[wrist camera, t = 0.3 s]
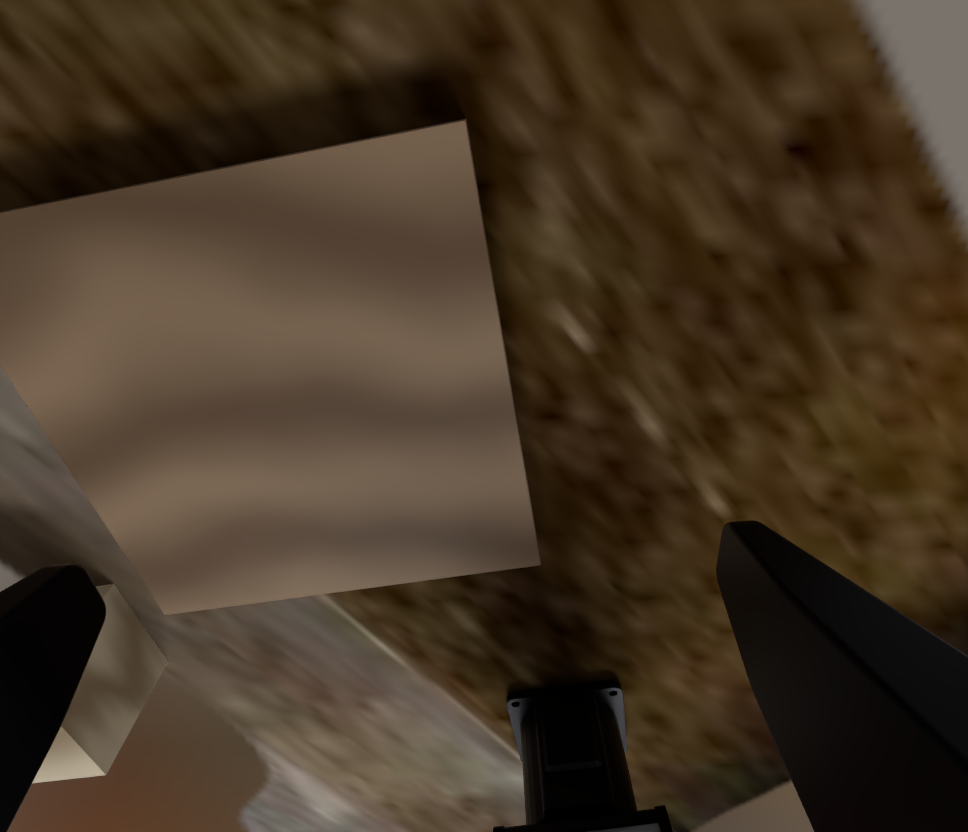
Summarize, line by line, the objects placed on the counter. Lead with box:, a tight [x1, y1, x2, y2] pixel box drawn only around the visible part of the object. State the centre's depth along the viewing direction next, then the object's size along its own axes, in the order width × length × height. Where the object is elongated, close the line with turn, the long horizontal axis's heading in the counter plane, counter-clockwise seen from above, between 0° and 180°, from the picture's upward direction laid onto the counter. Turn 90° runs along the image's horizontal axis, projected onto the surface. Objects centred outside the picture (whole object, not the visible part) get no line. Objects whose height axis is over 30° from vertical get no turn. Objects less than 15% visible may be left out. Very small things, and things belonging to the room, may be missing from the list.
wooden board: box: [0, 119, 541, 615], centre depth 22 cm, size 18×18×2 cm
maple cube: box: [32, 584, 168, 783], centre depth 27 cm, size 6×6×6 cm
